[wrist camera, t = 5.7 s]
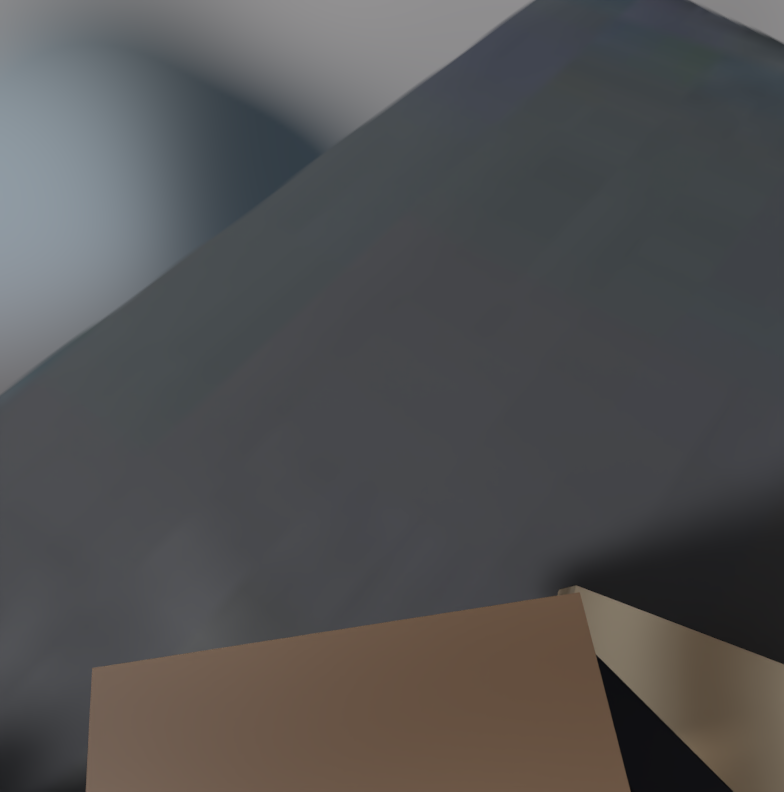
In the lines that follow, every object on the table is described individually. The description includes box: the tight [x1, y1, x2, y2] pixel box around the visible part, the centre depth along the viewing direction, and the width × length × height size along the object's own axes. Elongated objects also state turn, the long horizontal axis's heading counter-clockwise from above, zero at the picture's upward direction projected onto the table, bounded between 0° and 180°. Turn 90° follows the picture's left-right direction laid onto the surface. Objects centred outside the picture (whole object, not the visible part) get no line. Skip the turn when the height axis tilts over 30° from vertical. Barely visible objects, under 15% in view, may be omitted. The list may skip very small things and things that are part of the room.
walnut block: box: [86, 592, 631, 792], centre depth 9 cm, size 4×5×10 cm
